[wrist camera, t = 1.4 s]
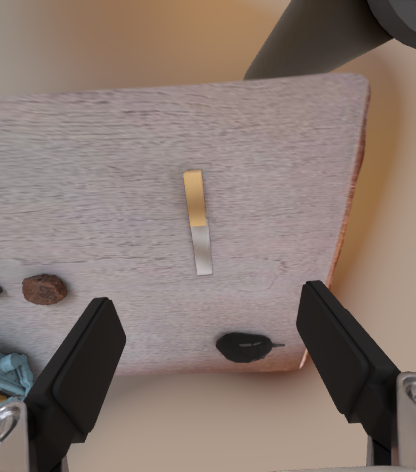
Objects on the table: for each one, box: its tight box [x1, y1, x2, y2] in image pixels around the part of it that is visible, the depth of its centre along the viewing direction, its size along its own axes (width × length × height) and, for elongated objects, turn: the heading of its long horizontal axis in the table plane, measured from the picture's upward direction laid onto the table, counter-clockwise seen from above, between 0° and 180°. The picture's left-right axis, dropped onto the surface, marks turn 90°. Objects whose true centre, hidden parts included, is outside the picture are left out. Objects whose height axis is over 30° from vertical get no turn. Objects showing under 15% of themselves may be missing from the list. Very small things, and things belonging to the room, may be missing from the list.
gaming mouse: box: [216, 333, 285, 363], centre depth 40 cm, size 6×15×4 cm, turn 84°
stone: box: [22, 274, 67, 305], centre depth 33 cm, size 7×7×3 cm
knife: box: [183, 169, 213, 275], centre depth 28 cm, size 17×3×3 cm, turn 5°
